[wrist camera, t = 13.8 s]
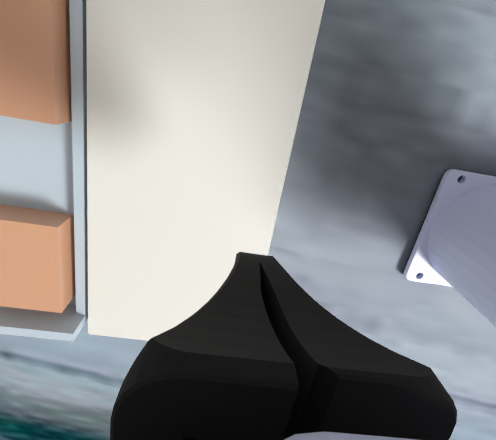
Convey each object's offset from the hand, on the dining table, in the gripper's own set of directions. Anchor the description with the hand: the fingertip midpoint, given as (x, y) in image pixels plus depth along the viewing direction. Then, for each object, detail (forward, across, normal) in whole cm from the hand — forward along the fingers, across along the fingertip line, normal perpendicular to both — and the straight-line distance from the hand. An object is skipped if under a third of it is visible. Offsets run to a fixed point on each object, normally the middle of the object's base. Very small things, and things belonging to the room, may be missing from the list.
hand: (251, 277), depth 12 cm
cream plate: (+9, +4, 0) cm, 10 cm away
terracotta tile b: (+9, +13, +6) cm, 17 cm away
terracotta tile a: (+9, +13, -6) cm, 17 cm away
